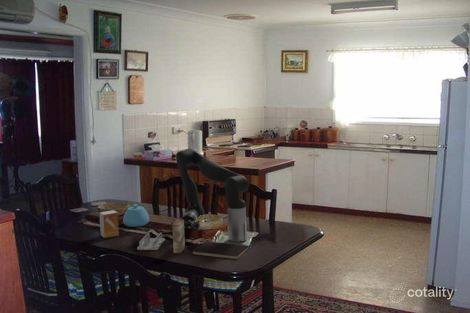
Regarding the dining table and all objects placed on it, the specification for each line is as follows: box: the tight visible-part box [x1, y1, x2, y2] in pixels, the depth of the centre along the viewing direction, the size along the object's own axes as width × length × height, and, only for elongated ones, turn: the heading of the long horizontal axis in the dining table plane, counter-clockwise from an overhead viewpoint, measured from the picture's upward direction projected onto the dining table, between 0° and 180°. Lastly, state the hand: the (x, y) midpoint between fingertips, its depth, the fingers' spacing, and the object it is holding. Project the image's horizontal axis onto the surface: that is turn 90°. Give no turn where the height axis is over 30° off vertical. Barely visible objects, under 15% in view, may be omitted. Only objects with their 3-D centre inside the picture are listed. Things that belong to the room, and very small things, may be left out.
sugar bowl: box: [122, 204, 150, 228], centre depth 307 cm, size 15×15×12 cm
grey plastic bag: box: [136, 232, 166, 251], centre depth 269 cm, size 10×16×4 cm, turn 174°
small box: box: [98, 210, 120, 239], centre depth 286 cm, size 8×6×13 cm
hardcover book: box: [192, 240, 250, 260], centre depth 256 cm, size 16×23×2 cm
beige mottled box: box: [171, 218, 186, 254], centre depth 259 cm, size 4×10×14 cm, turn 174°
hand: (183, 228), depth 270 cm, fingers open, 8 cm apart
